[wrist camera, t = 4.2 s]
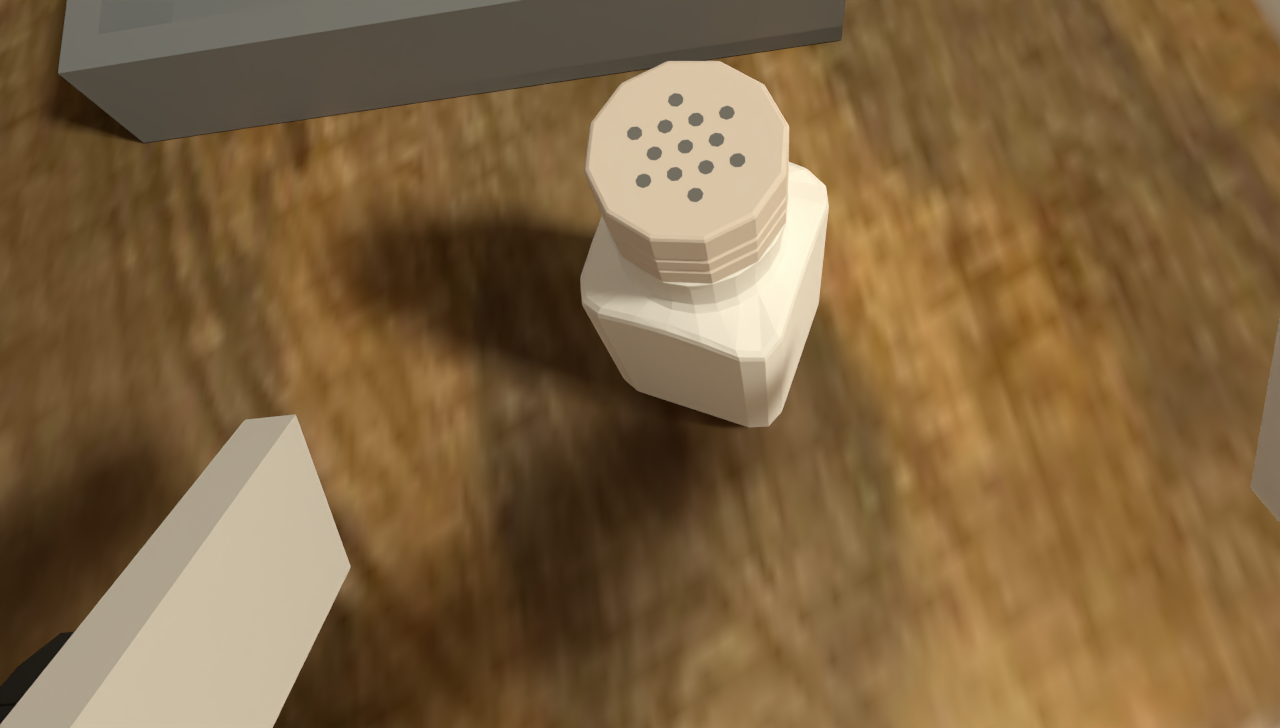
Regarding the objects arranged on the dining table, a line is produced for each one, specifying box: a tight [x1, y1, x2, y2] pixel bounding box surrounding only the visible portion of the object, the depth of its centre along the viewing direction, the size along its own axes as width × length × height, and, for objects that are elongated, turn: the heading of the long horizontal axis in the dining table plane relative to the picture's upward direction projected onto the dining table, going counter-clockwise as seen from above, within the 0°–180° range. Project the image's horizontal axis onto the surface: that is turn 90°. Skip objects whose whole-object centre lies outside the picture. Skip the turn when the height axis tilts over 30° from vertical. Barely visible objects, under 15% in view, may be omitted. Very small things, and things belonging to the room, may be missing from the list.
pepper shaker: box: [580, 61, 829, 427], centre depth 19 cm, size 4×4×10 cm
